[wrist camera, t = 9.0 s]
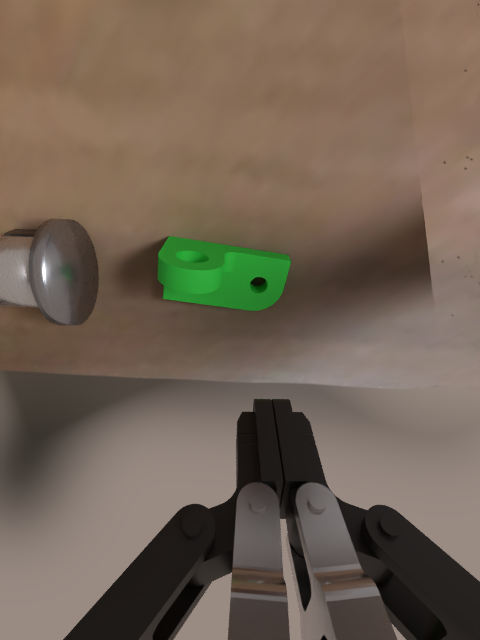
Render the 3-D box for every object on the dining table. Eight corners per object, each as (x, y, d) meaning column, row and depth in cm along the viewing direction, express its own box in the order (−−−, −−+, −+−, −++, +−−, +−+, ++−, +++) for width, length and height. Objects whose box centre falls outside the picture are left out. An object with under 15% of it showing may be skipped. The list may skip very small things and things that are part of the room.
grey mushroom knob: (86, 209, 28) (31, 236, 20) (104, 297, 32) (65, 346, 24) (7, 206, 27) (-80, 232, 20) (37, 295, 32) (-24, 345, 24)
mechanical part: (166, 290, 32) (150, 330, 25) (169, 235, 29) (151, 264, 22) (274, 305, 34) (286, 347, 27) (287, 254, 31) (304, 286, 24)
